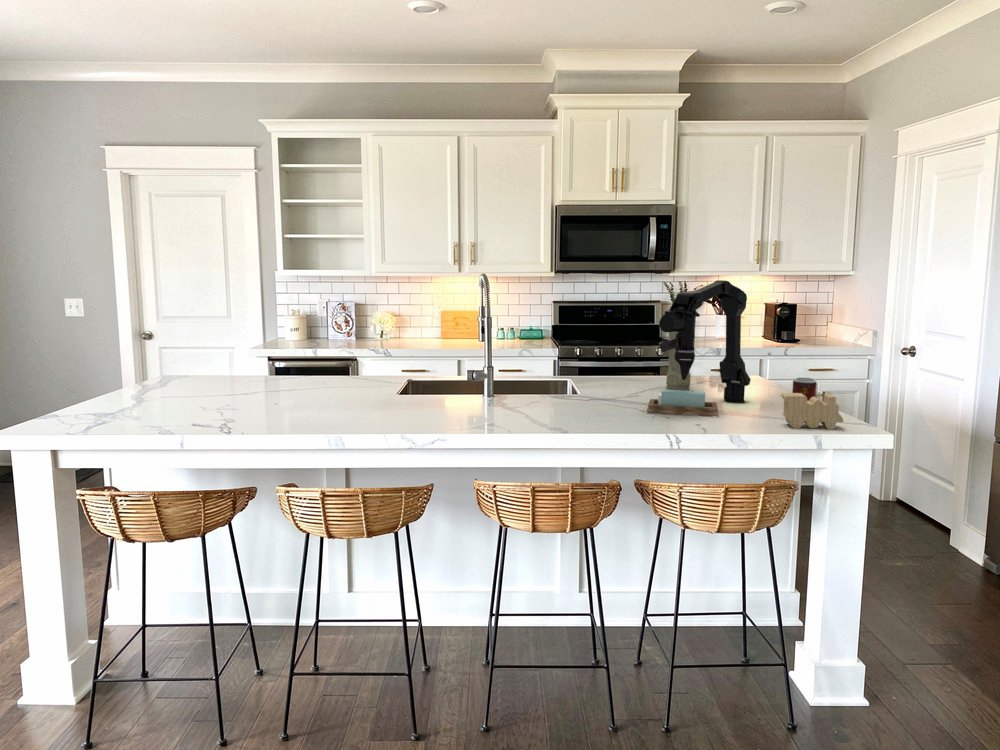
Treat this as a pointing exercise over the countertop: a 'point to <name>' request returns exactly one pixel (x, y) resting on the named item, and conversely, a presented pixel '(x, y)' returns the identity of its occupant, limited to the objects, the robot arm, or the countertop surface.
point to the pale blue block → (682, 398)
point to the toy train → (811, 410)
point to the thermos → (675, 372)
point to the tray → (683, 409)
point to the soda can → (805, 387)
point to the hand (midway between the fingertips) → (683, 377)
